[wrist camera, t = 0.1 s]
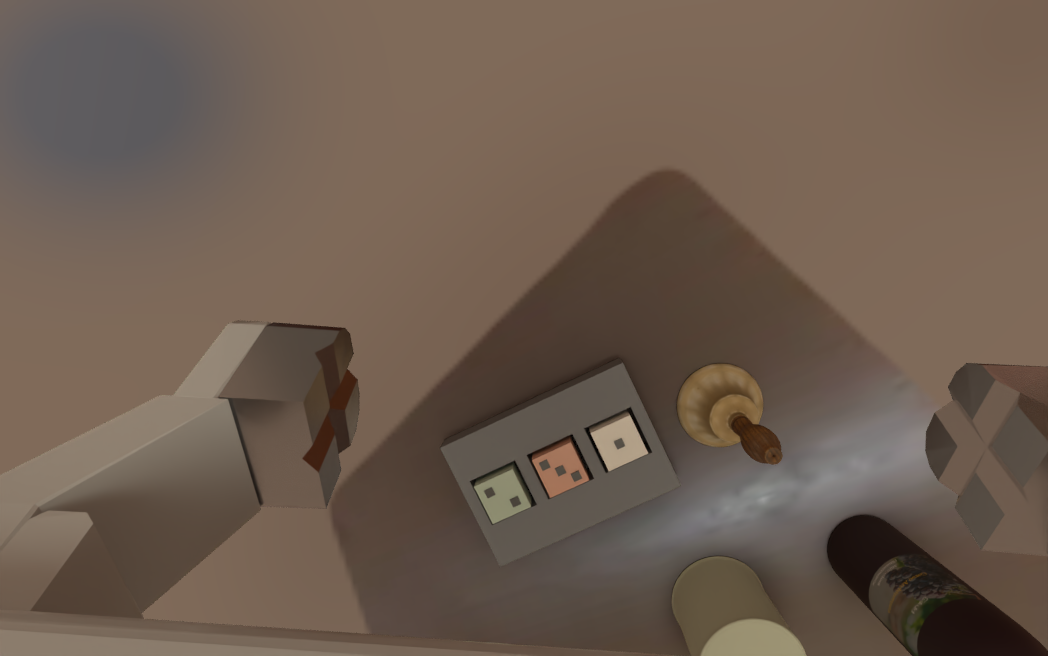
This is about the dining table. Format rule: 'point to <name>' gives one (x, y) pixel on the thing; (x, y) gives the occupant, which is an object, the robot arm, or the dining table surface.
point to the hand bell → (727, 411)
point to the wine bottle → (921, 595)
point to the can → (729, 612)
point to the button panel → (545, 425)
